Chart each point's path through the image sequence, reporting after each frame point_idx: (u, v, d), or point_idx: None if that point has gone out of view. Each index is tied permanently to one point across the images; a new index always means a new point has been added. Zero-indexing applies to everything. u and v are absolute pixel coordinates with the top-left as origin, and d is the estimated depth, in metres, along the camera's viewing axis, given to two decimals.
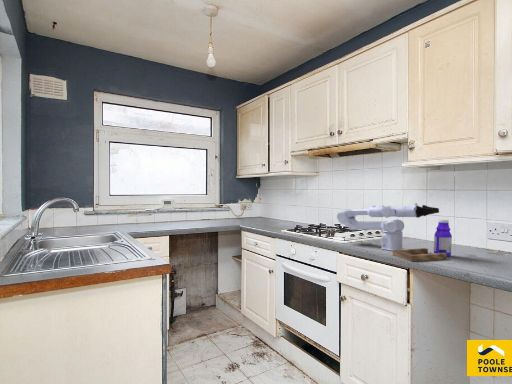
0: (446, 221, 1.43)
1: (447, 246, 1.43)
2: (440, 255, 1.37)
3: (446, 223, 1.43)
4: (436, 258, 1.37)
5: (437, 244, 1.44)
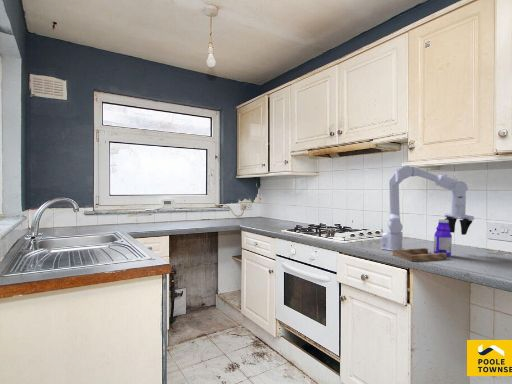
0: (446, 221, 1.43)
1: (447, 246, 1.43)
2: (440, 255, 1.37)
3: (446, 223, 1.43)
4: (436, 258, 1.37)
5: (437, 244, 1.44)
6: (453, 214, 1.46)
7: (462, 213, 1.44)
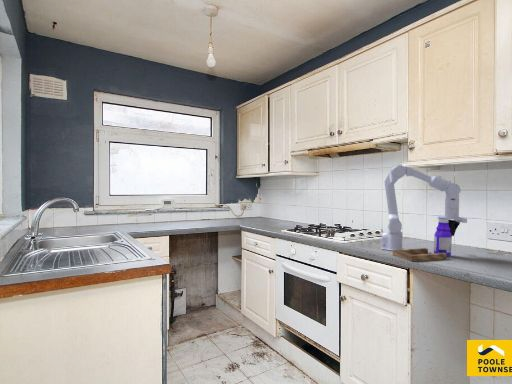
0: (446, 221, 1.43)
1: (447, 246, 1.43)
2: (440, 255, 1.37)
3: (446, 223, 1.43)
4: (436, 258, 1.37)
5: (437, 244, 1.44)
6: (446, 216, 1.45)
7: (455, 215, 1.43)
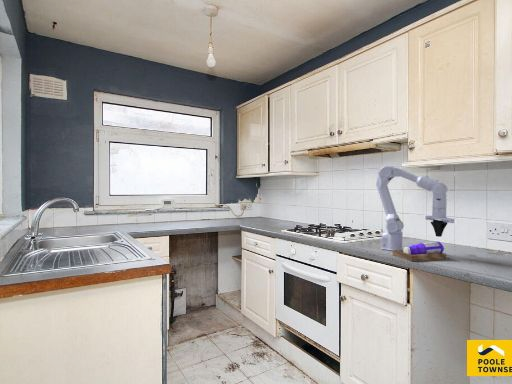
0: None
1: (433, 253, 1.39)
2: (440, 255, 1.37)
3: None
4: (436, 258, 1.37)
5: None
6: (434, 217, 1.44)
7: (443, 216, 1.41)
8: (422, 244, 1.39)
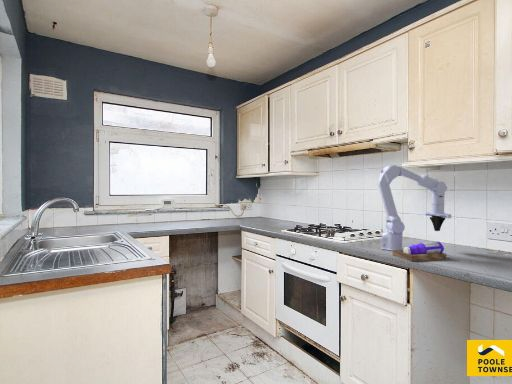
0: None
1: (433, 253, 1.39)
2: (440, 255, 1.37)
3: None
4: (436, 258, 1.37)
5: None
6: (432, 212, 1.55)
7: (441, 211, 1.53)
8: (422, 244, 1.39)
